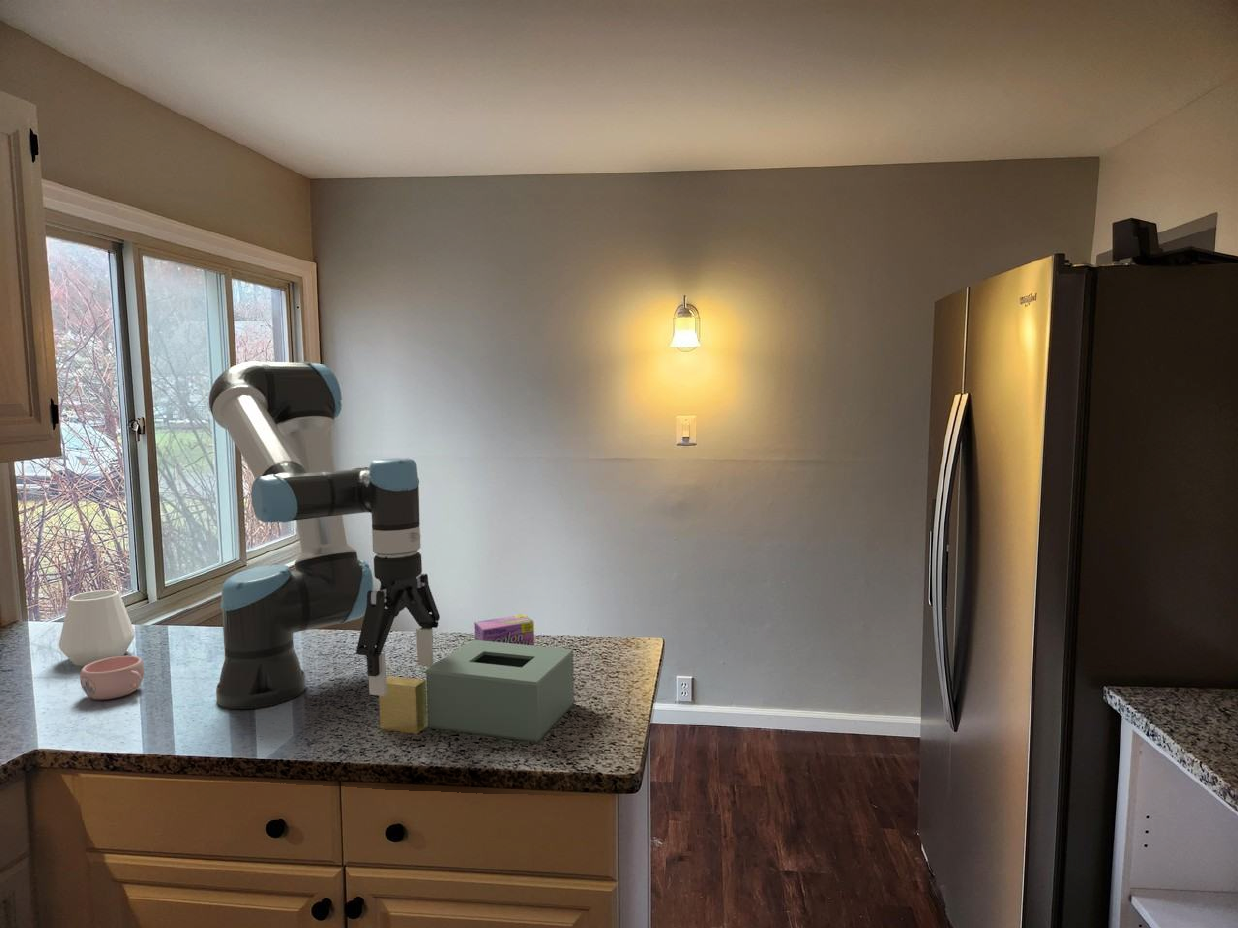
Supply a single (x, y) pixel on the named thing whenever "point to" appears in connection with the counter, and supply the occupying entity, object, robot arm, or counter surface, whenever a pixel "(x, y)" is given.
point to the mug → (112, 677)
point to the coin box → (500, 690)
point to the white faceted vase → (95, 627)
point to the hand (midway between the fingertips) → (403, 679)
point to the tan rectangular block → (403, 705)
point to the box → (506, 630)
